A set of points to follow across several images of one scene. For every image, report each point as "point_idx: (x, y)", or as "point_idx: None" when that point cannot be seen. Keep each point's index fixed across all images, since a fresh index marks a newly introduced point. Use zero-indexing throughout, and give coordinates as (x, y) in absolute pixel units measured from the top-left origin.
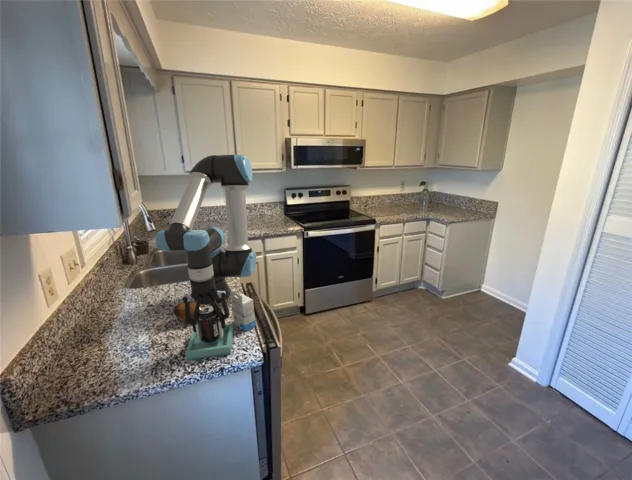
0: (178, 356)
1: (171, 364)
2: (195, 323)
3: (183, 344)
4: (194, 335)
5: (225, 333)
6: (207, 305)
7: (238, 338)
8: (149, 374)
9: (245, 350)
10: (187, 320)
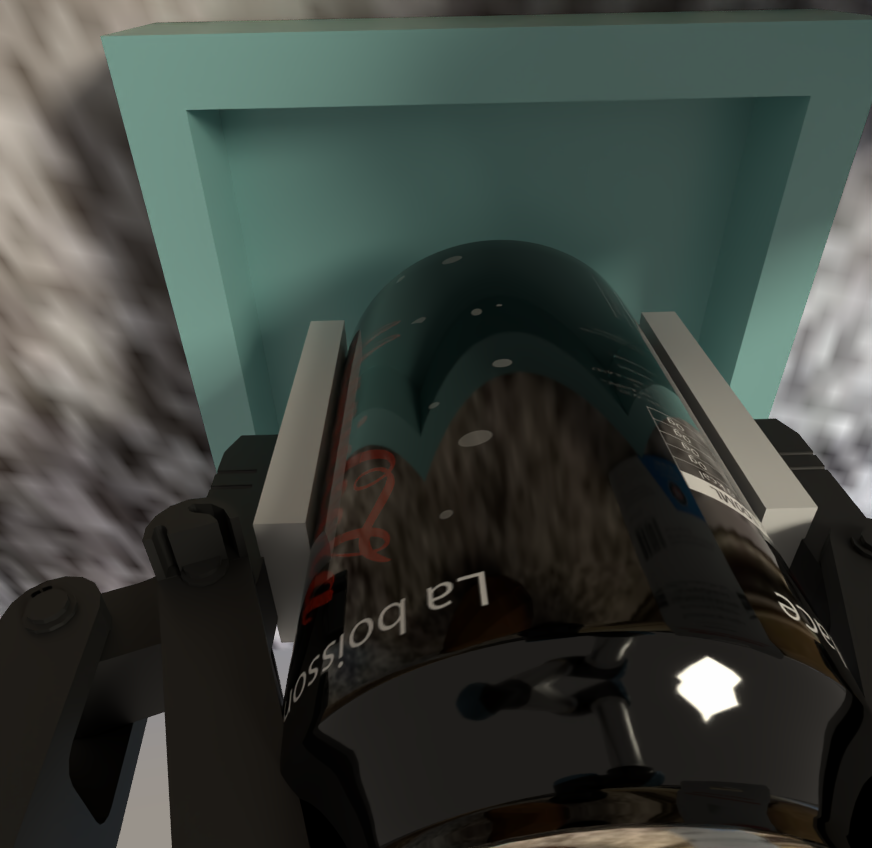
0: (143, 444)
1: (135, 532)
2: (269, 628)
3: (79, 236)
4: (216, 282)
5: (678, 140)
6: (624, 842)
7: (827, 252)
8: (7, 601)
9: (836, 472)
10: (94, 762)
